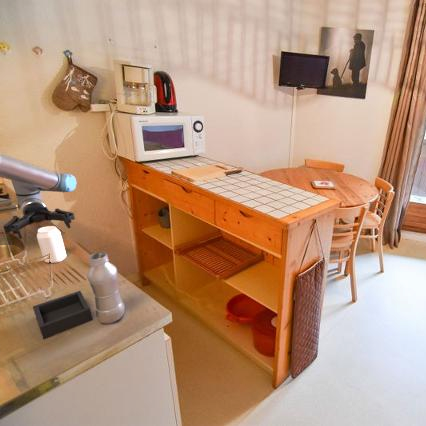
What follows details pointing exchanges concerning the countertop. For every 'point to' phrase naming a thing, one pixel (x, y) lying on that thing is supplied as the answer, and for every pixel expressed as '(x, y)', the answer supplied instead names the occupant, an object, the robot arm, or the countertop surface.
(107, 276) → the plastic bottle
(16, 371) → the countertop surface
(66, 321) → the black tray
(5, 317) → the countertop surface
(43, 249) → the beverage can
